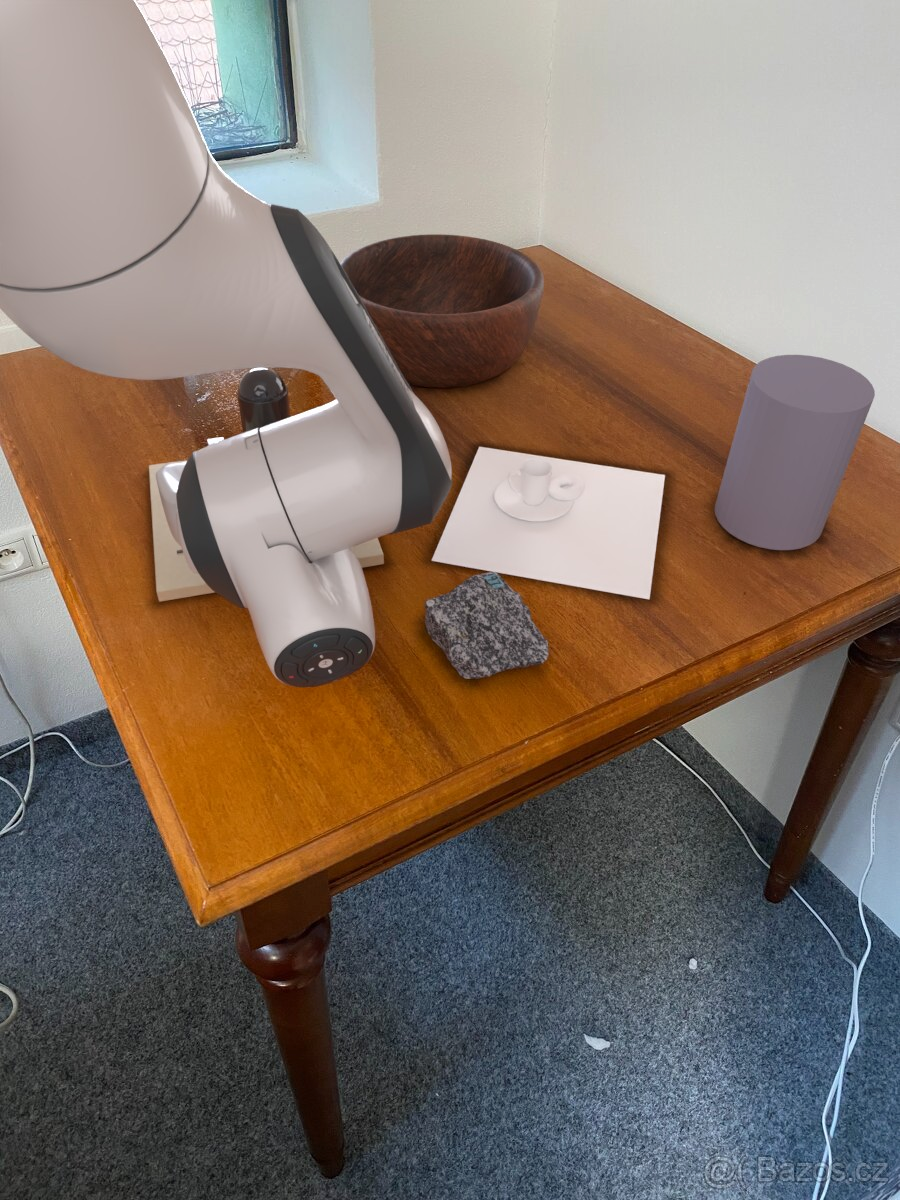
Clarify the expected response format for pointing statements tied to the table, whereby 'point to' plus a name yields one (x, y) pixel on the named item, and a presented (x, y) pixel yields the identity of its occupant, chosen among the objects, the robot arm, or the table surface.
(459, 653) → the rock
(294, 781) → the table surface
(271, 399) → the dome-topped canister
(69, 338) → the robot arm
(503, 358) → the wooden bowl
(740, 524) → the container
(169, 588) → the board
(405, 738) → the table surface
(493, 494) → the teacup and saucer
